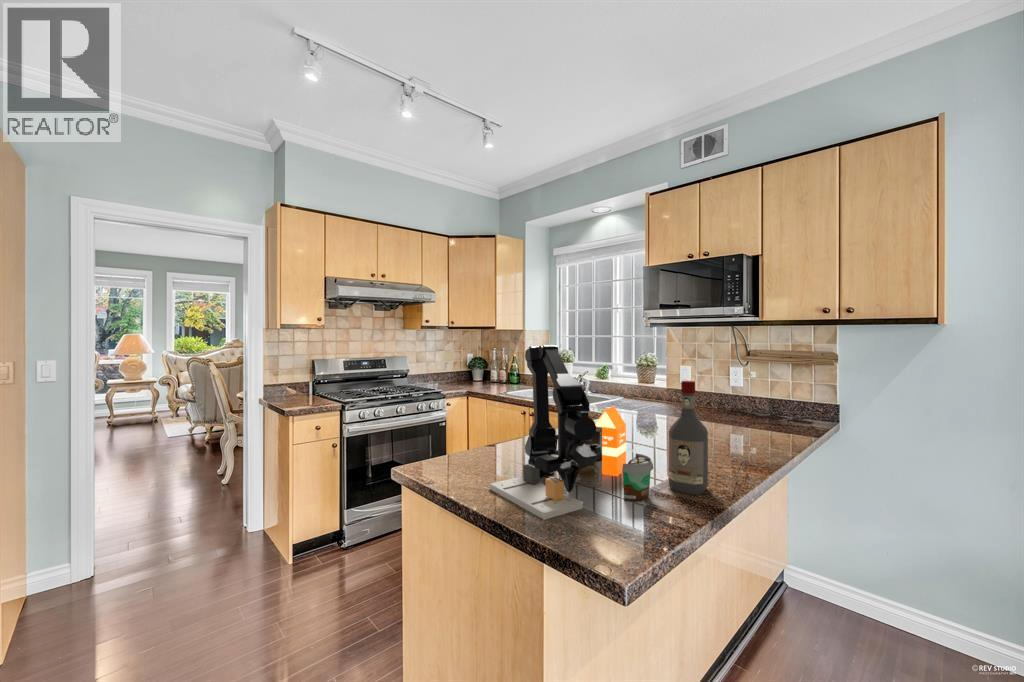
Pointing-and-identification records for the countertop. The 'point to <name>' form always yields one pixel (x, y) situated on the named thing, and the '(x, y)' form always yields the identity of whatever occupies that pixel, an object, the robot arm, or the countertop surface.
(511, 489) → the panel
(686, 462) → the liquor
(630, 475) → the food container
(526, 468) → the block
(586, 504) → the countertop surface
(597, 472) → the coffee box
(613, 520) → the countertop surface
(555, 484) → the orange fader
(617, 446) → the orange juice
